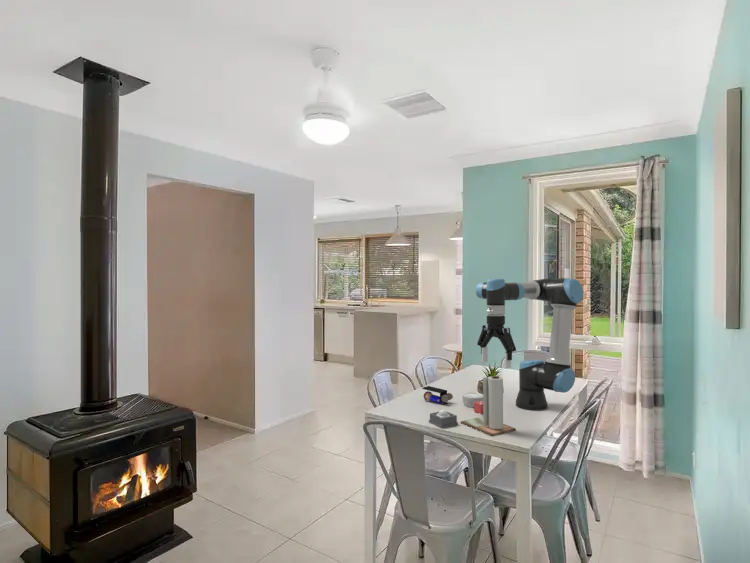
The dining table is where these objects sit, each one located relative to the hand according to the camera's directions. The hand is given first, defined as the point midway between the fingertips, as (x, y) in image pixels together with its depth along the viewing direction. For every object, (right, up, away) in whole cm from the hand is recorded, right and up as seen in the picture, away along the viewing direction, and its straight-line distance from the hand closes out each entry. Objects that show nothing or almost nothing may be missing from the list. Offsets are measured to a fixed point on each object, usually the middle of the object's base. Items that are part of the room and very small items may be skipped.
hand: (495, 365), depth 192 cm
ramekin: (-2, -28, +37) cm, 46 cm away
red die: (0, -27, +25) cm, 37 cm away
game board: (-3, -28, +4) cm, 28 cm away
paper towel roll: (0, -27, +1) cm, 27 cm away
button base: (-21, -28, +9) cm, 36 cm away
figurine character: (-19, -27, +42) cm, 54 cm away
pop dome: (-21, -26, +9) cm, 35 cm away
